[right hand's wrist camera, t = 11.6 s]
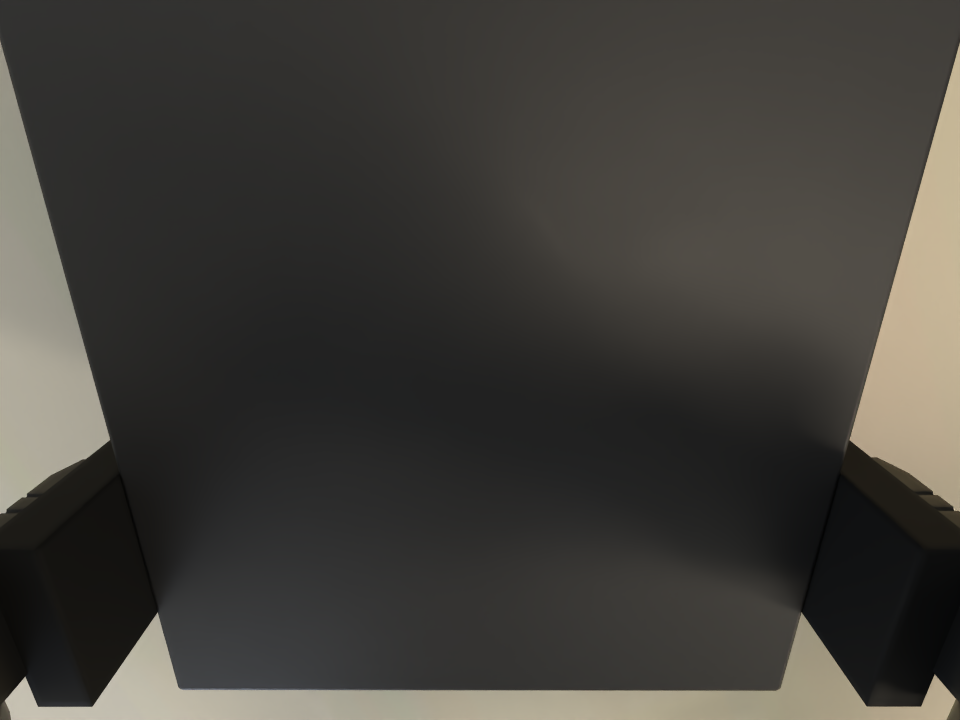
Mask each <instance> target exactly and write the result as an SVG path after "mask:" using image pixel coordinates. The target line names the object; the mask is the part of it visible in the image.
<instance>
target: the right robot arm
mask: <svg viewBox="0 0 960 720" xmlns="http://www.w3.org/2000/svg"><path fill="white" fill-rule="evenodd" d="M157 612H158V611H157V607H156V604H155V600H154V596H153V593H152V589H151V585H150V582H149V578H148V574H147V571H146V567H145V564H144V560H143V556H142V553H141V549H140V545H139V542H138V538H137V535H136V531H135V527H134V524H133V520H132V516H131V513H130V509H129V505H128V502H127V498H126V495H125V491H124V487H123V484H122V480H121V476H120V473H119V469H118V466H117V462H116V458H115V455H114V451H113V447H112V444H111V440H110V441H109V442H107V443H106V444H105V445H103V446H102V447H101V448H100V449H98V450H97V451H96V452H95V453H93V454H92V455H91V456H90V457H88V458H87V459H86V460H81V461H79V462H77V463H75V464H73V465H71V466H69V467H67V468H65V469H63V470H61V471H59V472H57V473H55V474H53V475H51V476H50V477H48V478H47V479H46V480H44V481H43V482H42V483H40V484H39V485H38V486H37V487H35V488H34V489H33V490H31V491H30V492H29V493H27V497H26V498H21V499H20V500H18V501H17V502H16V503H14V504H13V505H12V506H10V507H9V508H8V509H7V512H6V513H1V514H0V720H11V717H10V712H9V709H8V707H7V705H6V703H5V700H6V698H7V697H8V696H9V695H10V694H11V693H12V691H13V690H14V689H15V688H16V687H17V686H18V684H19V683H20V682H21V681H22V680H23V679H24V677H25V676H26V679H27V681H28V684H29V686H30V688H31V691H32V693H33V696H34V698H35V700H36V703H37V705H38V707H92V706H93V705H94V704H95V702H96V701H97V699H98V698H99V696H100V695H101V693H102V692H103V691H104V689H105V688H106V686H107V685H108V683H109V682H110V680H111V679H112V677H113V676H114V675H115V673H116V672H117V670H118V669H119V667H120V666H121V664H122V663H123V662H124V660H125V659H126V657H127V656H128V654H129V653H130V651H131V650H132V649H133V647H134V646H135V644H136V643H137V641H138V640H139V638H140V637H141V636H142V634H143V633H144V631H145V630H146V628H147V627H148V625H149V624H150V623H151V621H152V620H153V618H154V617H155V615H156V614H157ZM802 613H803V615H804V616H805V618H806V619H807V621H808V622H809V623H810V625H811V626H812V628H813V629H814V631H815V632H816V634H817V635H818V636H819V638H820V639H821V641H822V642H823V644H824V645H825V647H826V648H827V649H828V651H829V652H830V654H831V655H832V657H833V658H834V660H835V661H836V662H837V664H838V665H839V667H840V668H841V670H842V671H843V673H844V674H845V675H846V677H847V678H848V680H849V681H850V683H851V684H852V686H853V687H854V689H855V690H856V691H857V693H858V694H859V696H860V697H861V699H862V700H863V702H864V703H865V704H866V706H921V705H922V703H923V701H924V698H925V696H926V693H927V691H928V689H929V686H930V684H931V682H932V679H933V677H934V674H935V675H936V676H937V677H938V678H939V680H940V681H941V682H942V683H943V684H944V685H945V687H946V688H947V689H948V690H949V691H950V692H951V693H952V695H953V696H954V697H955V698H956V700H955V703H954V705H953V707H952V709H951V711H950V714H949V716H948V718H947V720H960V512H959V511H954V510H953V506H951V505H950V504H949V503H947V502H946V501H945V500H943V499H942V498H941V497H939V496H938V495H933V491H932V490H930V489H929V488H928V487H926V486H925V485H924V484H922V483H921V482H920V481H918V480H917V479H916V478H914V477H913V476H912V475H910V474H909V473H907V472H905V471H903V470H901V469H899V468H897V467H895V466H893V465H891V464H889V463H887V462H885V461H883V460H881V459H879V458H877V457H870V456H868V455H867V454H866V453H865V452H863V451H862V450H861V449H860V448H858V447H857V446H856V445H855V444H853V443H852V442H851V441H850V440H849V443H848V446H847V450H846V454H845V457H844V461H843V464H842V468H841V472H840V475H839V479H838V482H837V486H836V490H835V493H834V497H833V500H832V504H831V508H830V511H829V515H828V518H827V522H826V526H825V529H824V533H823V536H822V540H821V544H820V547H819V551H818V554H817V558H816V562H815V565H814V569H813V572H812V576H811V580H810V583H809V587H808V590H807V594H806V598H805V601H804V605H803V608H802Z"/></svg>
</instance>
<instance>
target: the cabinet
mask: <svg viewBox="0 0 960 720" xmlns="http://www.w3.org/2000/svg"><path fill="white" fill-rule="evenodd" d="M0 41H1V44H2V48H3V51H4V55H5V59H6V62H7V66H8V70H9V73H10V77H11V81H12V84H13V88H14V91H15V95H16V99H17V102H18V106H19V110H20V113H21V117H22V120H23V124H24V128H25V131H26V135H27V139H28V142H29V146H30V150H31V153H32V157H33V160H34V164H35V168H36V171H37V175H38V179H39V182H40V186H41V189H42V193H43V197H44V200H45V204H46V208H47V211H48V215H49V219H50V222H51V226H52V229H53V233H54V237H55V240H56V244H57V248H58V251H59V255H60V259H61V262H62V266H63V269H64V273H65V277H66V280H67V284H68V288H69V291H70V295H71V298H72V302H73V306H74V309H75V313H76V317H77V320H78V324H79V328H80V331H81V335H82V338H83V342H84V346H85V349H86V353H87V357H88V360H89V364H90V367H91V371H92V375H93V378H94V382H95V386H96V389H97V393H98V397H99V400H100V404H101V407H102V411H103V415H104V418H105V422H106V426H107V429H108V433H109V436H110V440H111V444H112V447H113V451H114V455H115V458H116V462H117V466H118V469H119V473H120V476H121V480H122V484H123V487H124V491H125V495H126V498H127V502H128V505H129V509H130V513H131V516H132V520H133V524H134V527H135V531H136V535H137V538H138V542H139V545H140V549H141V553H142V556H143V560H144V564H145V567H146V571H147V574H148V578H149V582H150V585H151V589H152V593H153V596H154V600H155V604H156V607H157V611H158V614H159V618H160V622H161V625H162V629H163V633H164V636H165V640H166V644H167V647H168V651H169V654H170V658H171V662H172V665H173V669H174V673H175V676H176V680H177V683H178V687H179V688H180V689H182V690H753V691H776V690H778V689H780V688H781V684H782V680H783V677H784V673H785V670H786V666H787V662H788V659H789V655H790V652H791V648H792V644H793V641H794V637H795V634H796V630H797V626H798V623H799V619H800V616H801V612H802V608H803V605H804V601H805V598H806V594H807V590H808V587H809V583H810V580H811V576H812V572H813V569H814V565H815V562H816V558H817V554H818V551H819V547H820V544H821V540H822V536H823V533H824V529H825V526H826V522H827V518H828V515H829V511H830V508H831V504H832V500H833V497H834V493H835V490H836V486H837V482H838V479H839V475H840V472H841V468H842V464H843V461H844V457H845V454H846V450H847V446H848V443H849V439H850V436H851V432H852V428H853V425H854V421H855V418H856V414H857V410H858V407H859V403H860V400H861V396H862V392H863V389H864V385H865V382H866V378H867V374H868V371H869V367H870V364H871V360H872V356H873V353H874V349H875V346H876V342H877V338H878V335H879V331H880V328H881V324H882V320H883V317H884V313H885V310H886V306H887V302H888V299H889V295H890V292H891V288H892V284H893V281H894V277H895V274H896V270H897V266H898V263H899V259H900V256H901V252H902V248H903V245H904V241H905V238H906V234H907V230H908V227H909V223H910V220H911V216H912V212H913V209H914V205H915V202H916V198H917V194H918V191H919V187H920V184H921V180H922V176H923V173H924V169H925V166H926V162H927V158H928V155H929V151H930V148H931V144H932V140H933V137H934V133H935V130H936V126H937V122H938V119H939V115H940V112H941V108H942V104H943V101H944V97H945V94H946V90H947V86H948V83H949V79H950V76H951V72H952V68H953V65H954V61H955V58H956V54H957V50H958V47H959V43H960V0H0Z"/></svg>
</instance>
